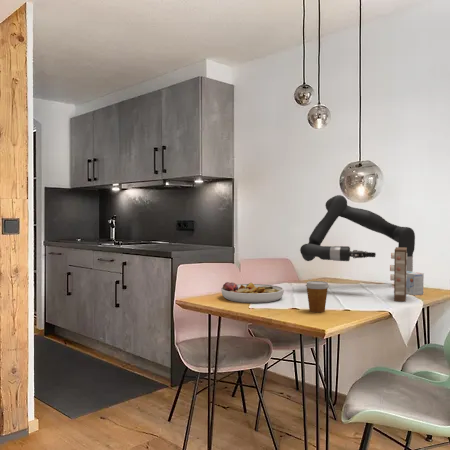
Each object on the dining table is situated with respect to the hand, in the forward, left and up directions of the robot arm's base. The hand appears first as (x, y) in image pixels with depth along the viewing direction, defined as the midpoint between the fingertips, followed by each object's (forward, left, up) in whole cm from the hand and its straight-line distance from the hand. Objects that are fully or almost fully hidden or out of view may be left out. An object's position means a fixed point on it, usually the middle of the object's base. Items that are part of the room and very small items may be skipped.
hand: (375, 254), depth 241 cm
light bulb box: (-13, +17, -20) cm, 29 cm away
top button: (0, +11, -2) cm, 11 cm away
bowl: (+30, -54, -21) cm, 65 cm away
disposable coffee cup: (+49, -19, -20) cm, 56 cm away
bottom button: (+5, +11, -12) cm, 17 cm away
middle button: (+10, +11, -7) cm, 16 cm away
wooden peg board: (+5, +12, -20) cm, 24 cm away
